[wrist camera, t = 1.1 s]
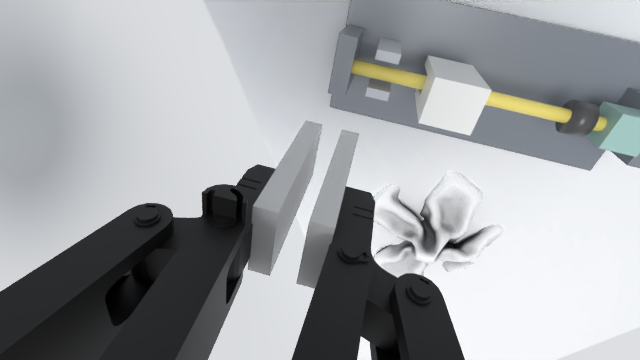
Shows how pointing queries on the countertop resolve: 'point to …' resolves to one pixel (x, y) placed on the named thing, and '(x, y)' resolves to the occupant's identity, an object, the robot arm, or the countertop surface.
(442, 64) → the white rectangular block
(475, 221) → the countertop surface
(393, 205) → the cloth
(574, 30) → the linear slide fixture
